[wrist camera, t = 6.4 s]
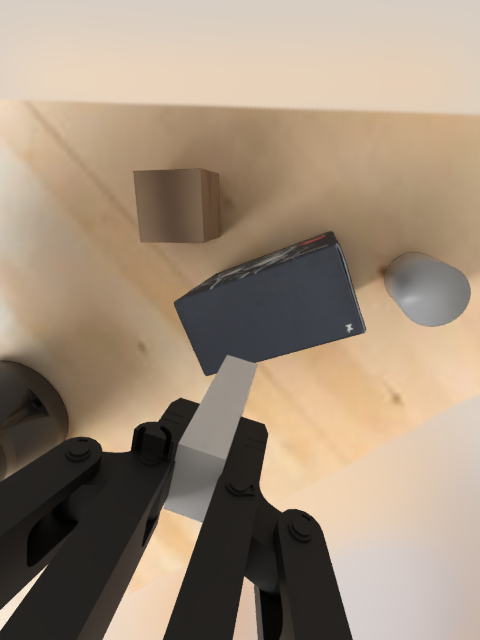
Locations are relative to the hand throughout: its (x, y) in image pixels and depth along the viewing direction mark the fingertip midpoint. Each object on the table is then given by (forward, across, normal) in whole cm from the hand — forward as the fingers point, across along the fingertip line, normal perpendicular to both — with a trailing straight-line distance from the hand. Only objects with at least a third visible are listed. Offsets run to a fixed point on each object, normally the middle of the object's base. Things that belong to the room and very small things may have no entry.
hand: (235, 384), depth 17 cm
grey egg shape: (+21, +12, +4) cm, 25 cm away
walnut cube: (+22, -11, +6) cm, 25 cm away
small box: (+22, 0, 0) cm, 22 cm away
